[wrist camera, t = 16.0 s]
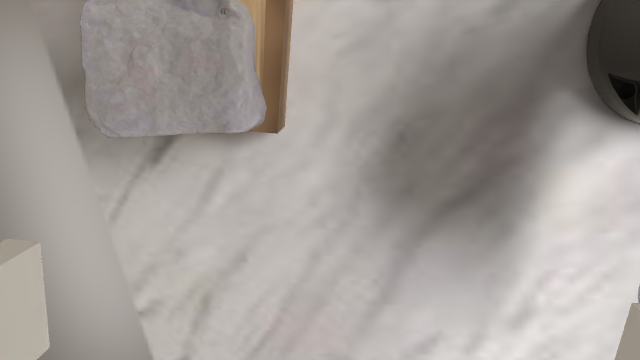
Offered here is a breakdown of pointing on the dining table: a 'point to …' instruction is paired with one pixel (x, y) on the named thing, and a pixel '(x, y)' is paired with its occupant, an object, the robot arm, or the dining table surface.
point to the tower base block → (276, 63)
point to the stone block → (170, 67)
